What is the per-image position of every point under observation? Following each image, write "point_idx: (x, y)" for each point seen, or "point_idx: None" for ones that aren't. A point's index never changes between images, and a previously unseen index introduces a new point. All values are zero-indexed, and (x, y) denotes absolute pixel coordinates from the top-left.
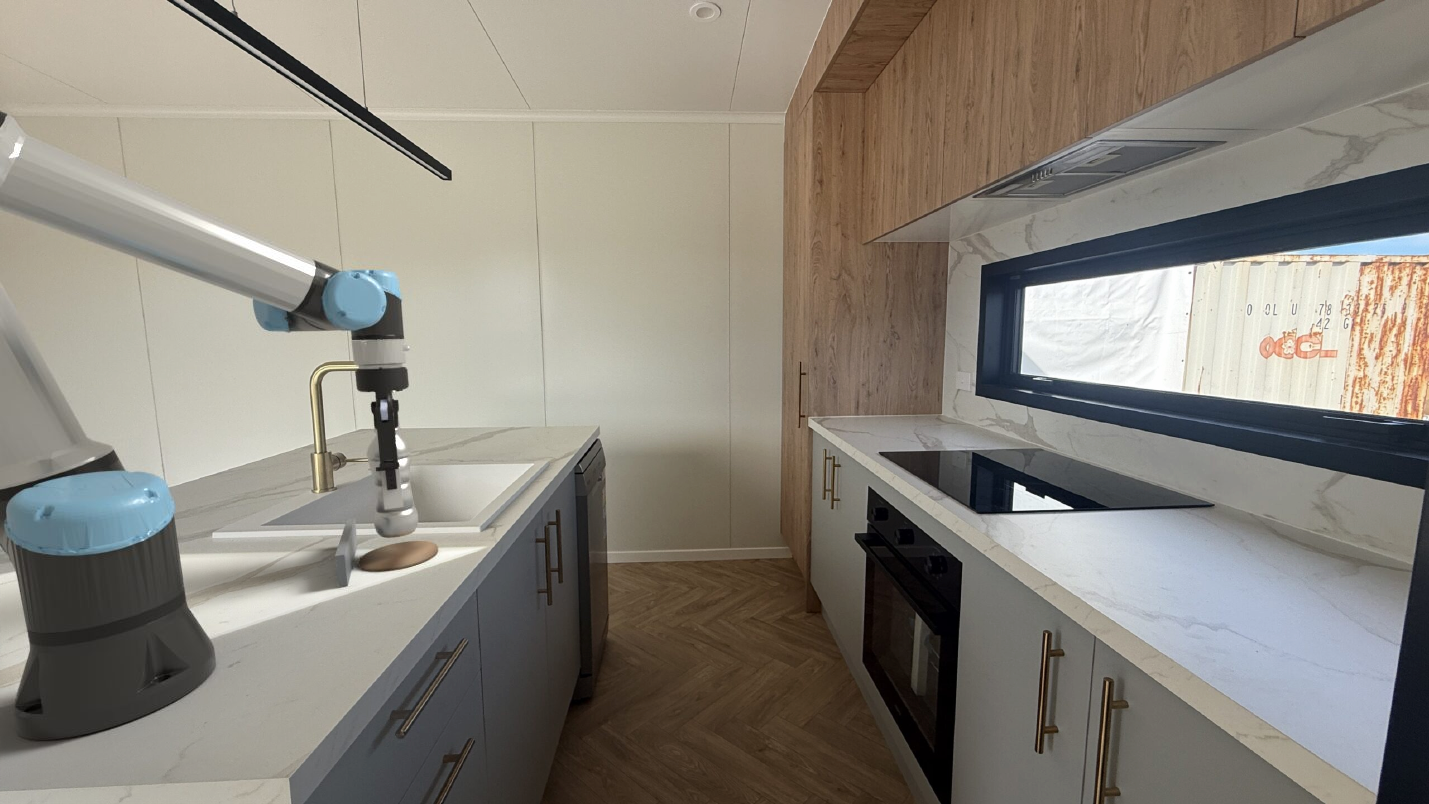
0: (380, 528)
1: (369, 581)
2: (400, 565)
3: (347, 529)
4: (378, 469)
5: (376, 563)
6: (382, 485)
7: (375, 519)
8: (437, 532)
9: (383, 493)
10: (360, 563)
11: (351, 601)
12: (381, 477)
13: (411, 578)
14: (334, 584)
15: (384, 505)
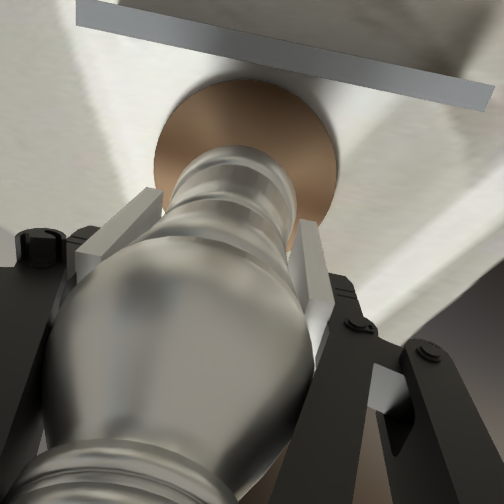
0: (198, 156)
1: (118, 85)
2: (154, 164)
3: (354, 69)
4: (24, 242)
5: (206, 118)
6: (109, 221)
7: (220, 153)
8: (365, 286)
9: (124, 208)
10: (236, 83)
11: (11, 28)
12: (92, 235)
13: (83, 169)
14: (149, 3)
15: (141, 192)
